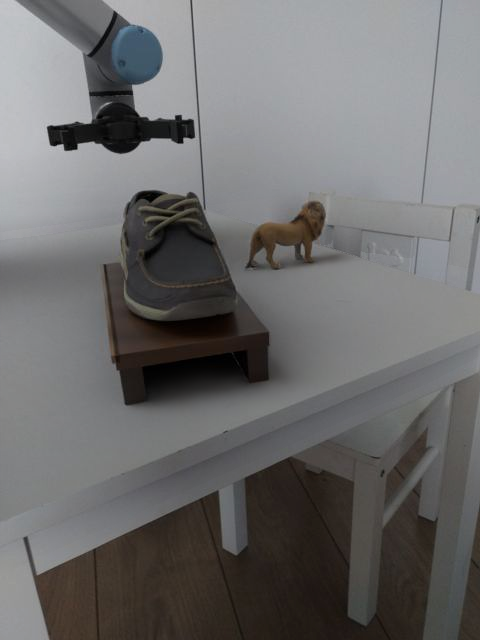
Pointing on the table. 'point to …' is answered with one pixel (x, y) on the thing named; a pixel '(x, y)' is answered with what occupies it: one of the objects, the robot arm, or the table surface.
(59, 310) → the table surface
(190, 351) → the shoe shelf
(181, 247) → the boat shoe
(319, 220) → the lion figurine
